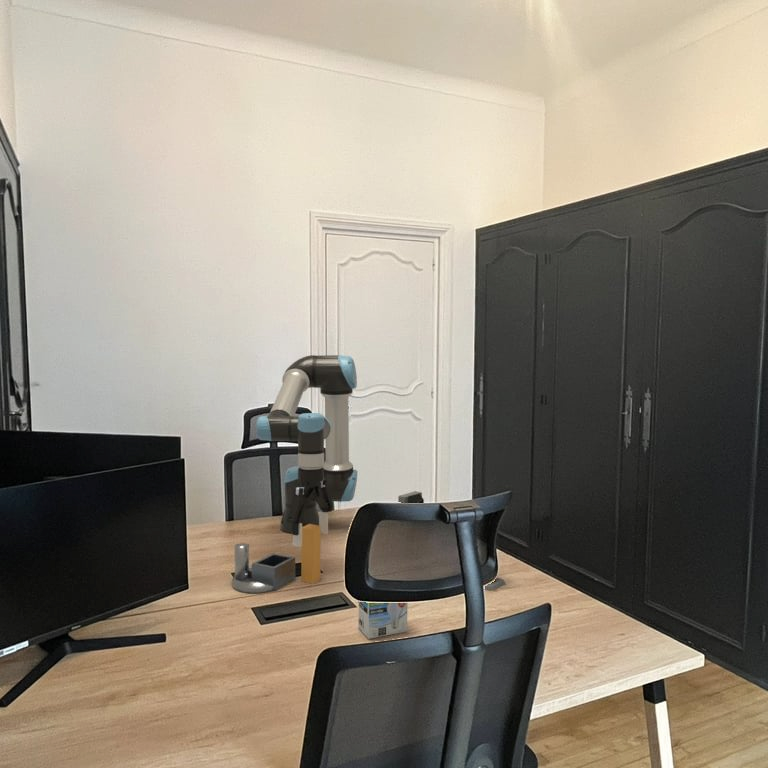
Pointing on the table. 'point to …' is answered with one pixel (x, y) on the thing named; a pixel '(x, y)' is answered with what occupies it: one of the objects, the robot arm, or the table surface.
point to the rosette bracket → (261, 571)
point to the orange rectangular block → (311, 554)
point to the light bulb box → (382, 618)
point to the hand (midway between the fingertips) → (310, 539)
